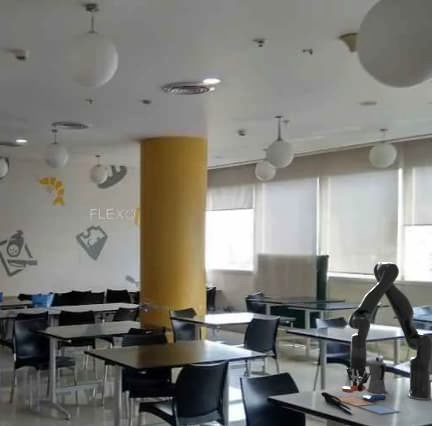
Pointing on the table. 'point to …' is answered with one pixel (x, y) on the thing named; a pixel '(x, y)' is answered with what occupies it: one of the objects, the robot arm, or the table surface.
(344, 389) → the terracotta spoon
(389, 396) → the table surface
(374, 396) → the blue spoon
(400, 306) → the robot arm
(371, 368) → the coffeepot
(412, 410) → the table surface
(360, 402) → the terracotta mat
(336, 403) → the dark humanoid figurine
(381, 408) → the blue mat
